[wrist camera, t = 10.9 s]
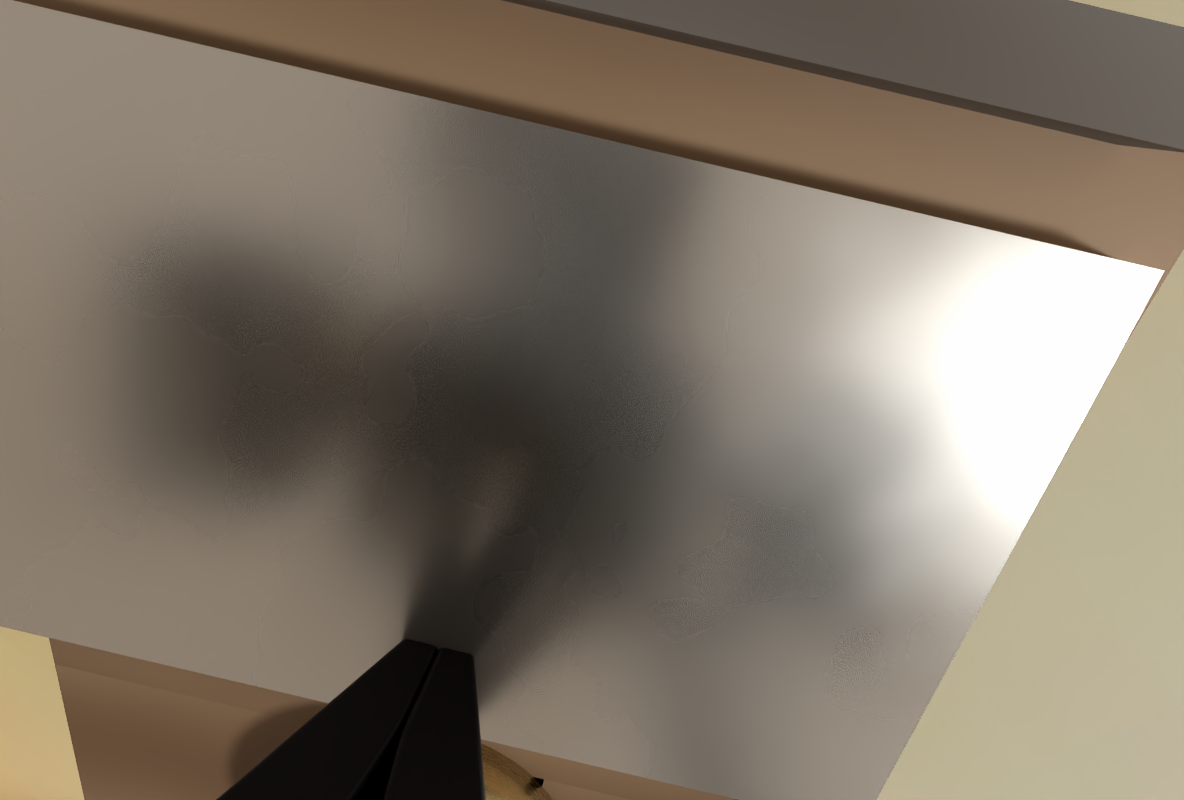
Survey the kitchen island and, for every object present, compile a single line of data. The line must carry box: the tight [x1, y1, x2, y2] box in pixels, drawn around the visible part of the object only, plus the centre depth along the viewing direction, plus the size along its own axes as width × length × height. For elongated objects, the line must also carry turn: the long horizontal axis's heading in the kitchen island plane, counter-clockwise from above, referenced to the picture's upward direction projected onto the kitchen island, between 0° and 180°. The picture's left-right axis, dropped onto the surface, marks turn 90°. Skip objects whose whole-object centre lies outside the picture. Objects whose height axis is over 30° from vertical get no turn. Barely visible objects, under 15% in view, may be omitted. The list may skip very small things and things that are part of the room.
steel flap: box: [0, 0, 1164, 800], centre depth 7 cm, size 7×11×1 cm, turn 78°
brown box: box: [14, 0, 1184, 800], centre depth 10 cm, size 16×12×5 cm
